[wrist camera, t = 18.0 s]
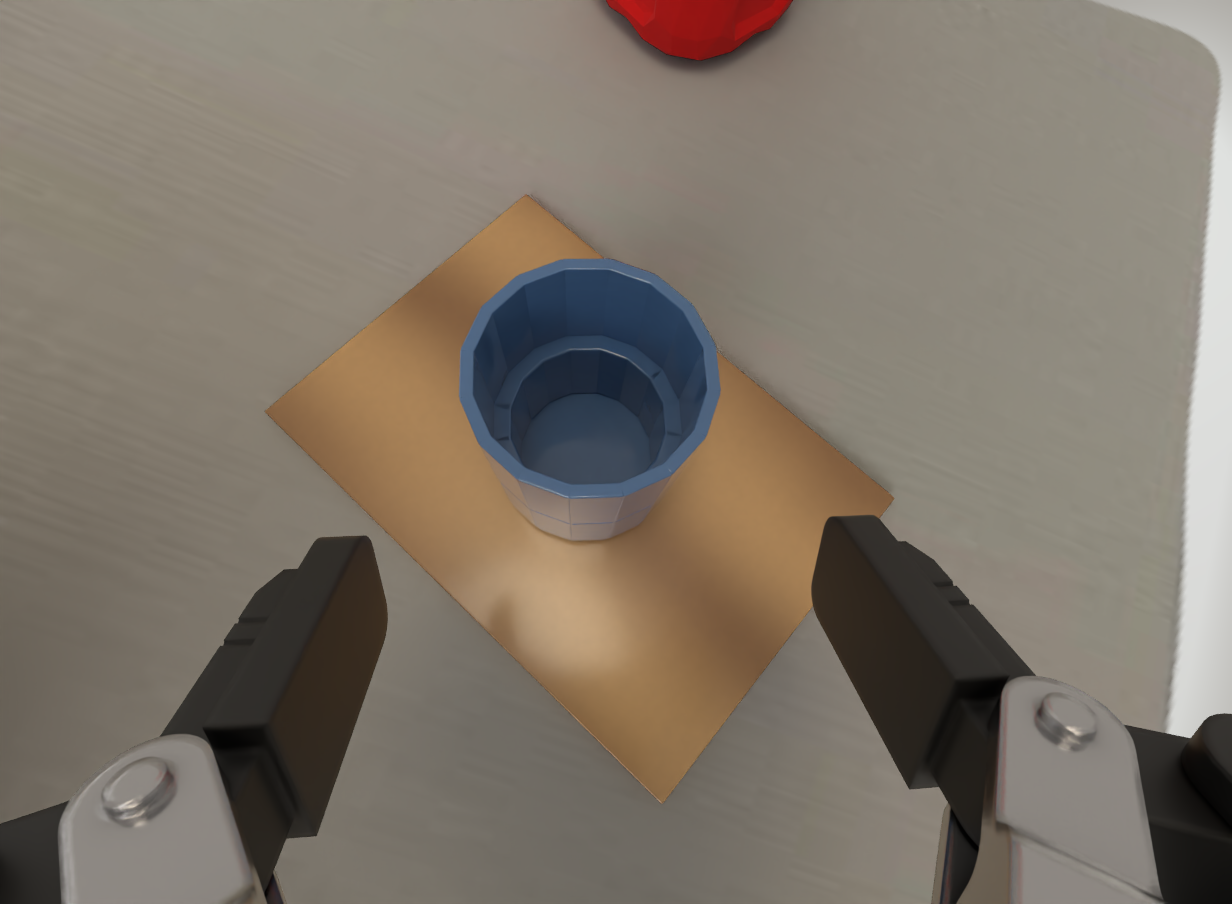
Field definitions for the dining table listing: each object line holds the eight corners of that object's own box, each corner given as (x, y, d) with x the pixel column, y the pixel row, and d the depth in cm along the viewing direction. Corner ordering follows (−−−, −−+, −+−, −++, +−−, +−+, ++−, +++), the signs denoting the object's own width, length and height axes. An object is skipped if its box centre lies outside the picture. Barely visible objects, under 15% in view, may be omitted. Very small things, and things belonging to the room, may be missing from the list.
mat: (660, 800, 19) (662, 804, 19) (269, 414, 22) (264, 411, 22) (890, 499, 23) (895, 497, 22) (526, 199, 26) (526, 193, 25)
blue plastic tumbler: (590, 579, 21) (599, 555, 13) (463, 461, 22) (402, 373, 14) (704, 453, 22) (770, 366, 15) (581, 348, 23) (584, 215, 16)
